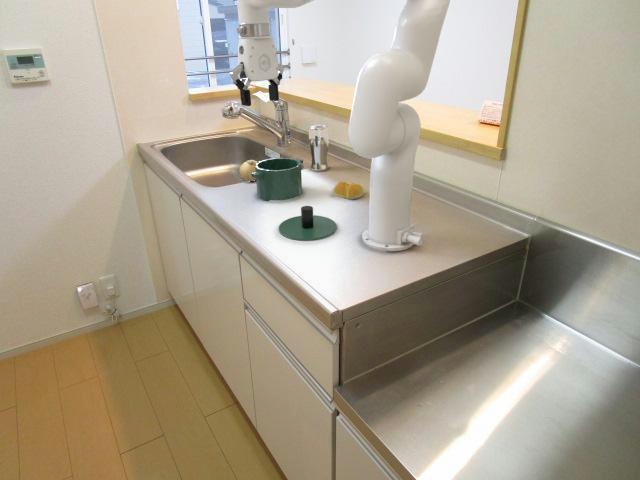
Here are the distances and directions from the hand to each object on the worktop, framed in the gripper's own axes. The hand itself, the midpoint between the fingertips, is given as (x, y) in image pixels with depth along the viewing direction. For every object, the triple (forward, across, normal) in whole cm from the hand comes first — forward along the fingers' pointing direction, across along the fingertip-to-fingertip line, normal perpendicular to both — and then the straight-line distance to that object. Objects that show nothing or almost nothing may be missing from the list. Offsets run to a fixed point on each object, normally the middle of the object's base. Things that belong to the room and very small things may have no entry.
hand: (260, 102), depth 120 cm
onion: (+28, +11, +21) cm, 37 cm away
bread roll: (+29, +19, -14) cm, 37 cm away
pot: (+28, +7, +3) cm, 29 cm away
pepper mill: (+28, +34, +11) cm, 46 cm away
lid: (+28, -7, -22) cm, 36 cm away
